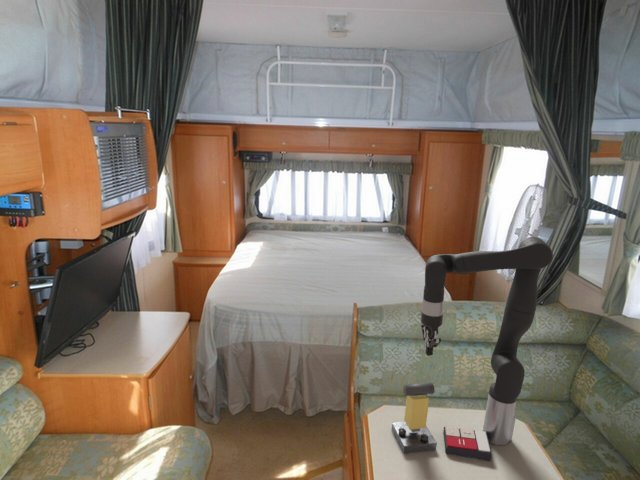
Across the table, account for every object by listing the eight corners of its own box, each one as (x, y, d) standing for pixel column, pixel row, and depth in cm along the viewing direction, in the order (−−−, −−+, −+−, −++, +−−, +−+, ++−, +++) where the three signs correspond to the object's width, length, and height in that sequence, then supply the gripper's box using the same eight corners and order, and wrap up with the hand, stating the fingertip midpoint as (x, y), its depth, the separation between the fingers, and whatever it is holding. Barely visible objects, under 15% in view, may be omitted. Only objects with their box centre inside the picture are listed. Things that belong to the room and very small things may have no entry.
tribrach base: (421, 426, 160) (422, 416, 159) (435, 449, 149) (437, 439, 148) (391, 429, 158) (392, 419, 157) (403, 453, 146) (404, 443, 145)
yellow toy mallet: (424, 422, 155) (429, 379, 151) (430, 432, 151) (435, 387, 146) (398, 425, 153) (402, 381, 149) (403, 435, 149) (408, 390, 144)
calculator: (443, 424, 157) (486, 429, 154) (443, 434, 158) (485, 439, 155) (446, 445, 146) (492, 451, 143) (445, 456, 147) (491, 462, 144)
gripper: (450, 318, 146) (446, 363, 150) (434, 303, 159) (431, 345, 163) (429, 319, 145) (426, 365, 149) (415, 304, 157) (412, 346, 162)
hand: (428, 354), depth 156 cm, fingers closed
